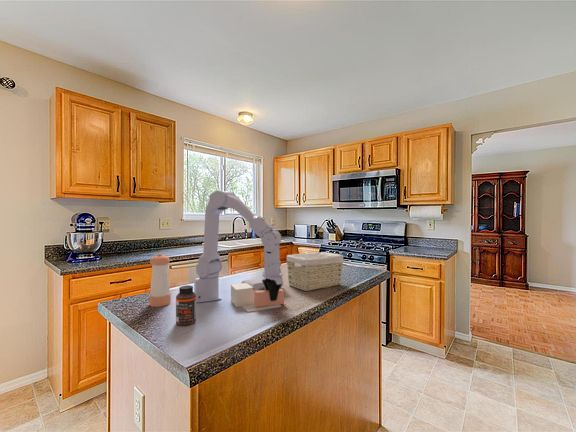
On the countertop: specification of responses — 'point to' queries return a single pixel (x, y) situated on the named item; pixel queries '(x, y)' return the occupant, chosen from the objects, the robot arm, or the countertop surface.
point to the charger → (255, 283)
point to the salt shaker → (160, 281)
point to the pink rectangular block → (267, 298)
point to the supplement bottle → (185, 306)
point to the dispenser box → (242, 294)
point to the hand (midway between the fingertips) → (272, 299)
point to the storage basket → (314, 270)
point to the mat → (259, 307)
